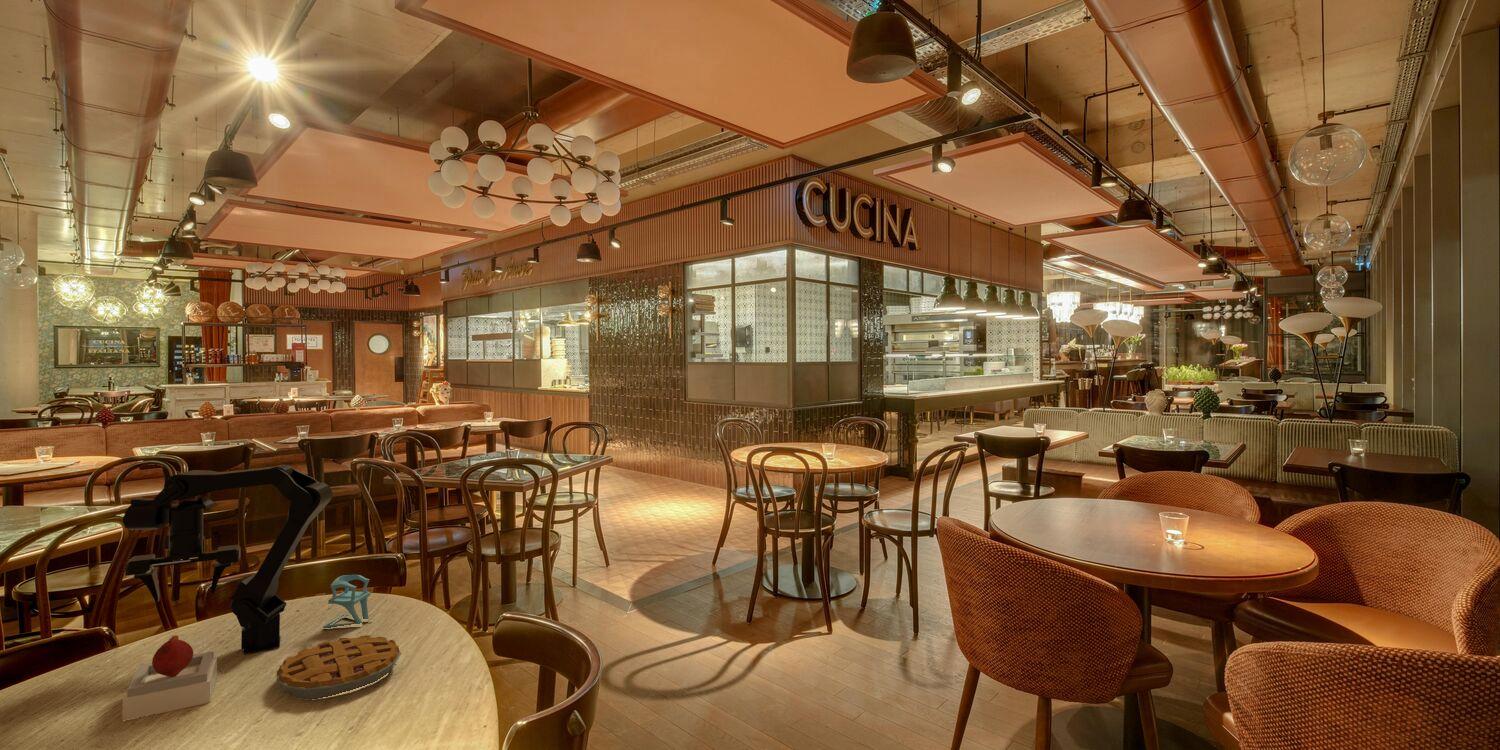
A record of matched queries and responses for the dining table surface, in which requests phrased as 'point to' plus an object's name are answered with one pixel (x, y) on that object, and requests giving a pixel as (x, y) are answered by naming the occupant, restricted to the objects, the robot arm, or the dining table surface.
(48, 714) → the dining table surface
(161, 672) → the onion
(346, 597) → the chair
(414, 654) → the dining table surface
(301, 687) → the pie
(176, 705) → the display pedestal
